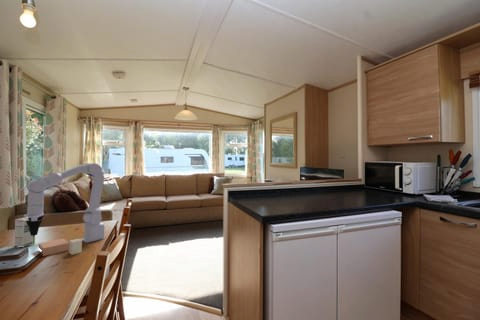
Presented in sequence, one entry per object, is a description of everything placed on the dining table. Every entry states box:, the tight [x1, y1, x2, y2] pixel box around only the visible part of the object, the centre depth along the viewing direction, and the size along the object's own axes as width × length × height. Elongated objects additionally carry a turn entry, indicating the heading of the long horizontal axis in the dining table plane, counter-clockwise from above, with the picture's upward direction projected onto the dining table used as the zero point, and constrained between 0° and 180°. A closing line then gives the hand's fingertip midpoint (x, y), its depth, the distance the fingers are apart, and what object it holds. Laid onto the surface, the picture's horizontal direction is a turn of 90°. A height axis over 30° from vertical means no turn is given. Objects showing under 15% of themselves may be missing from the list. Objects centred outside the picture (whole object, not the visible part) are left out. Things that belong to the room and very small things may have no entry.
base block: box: [37, 238, 70, 257], centre depth 112 cm, size 10×10×4 cm
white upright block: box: [68, 238, 83, 256], centre depth 110 cm, size 4×4×6 cm
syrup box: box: [13, 217, 36, 247], centre depth 118 cm, size 6×6×14 cm
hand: (34, 233), depth 108 cm, fingers open, 7 cm apart
